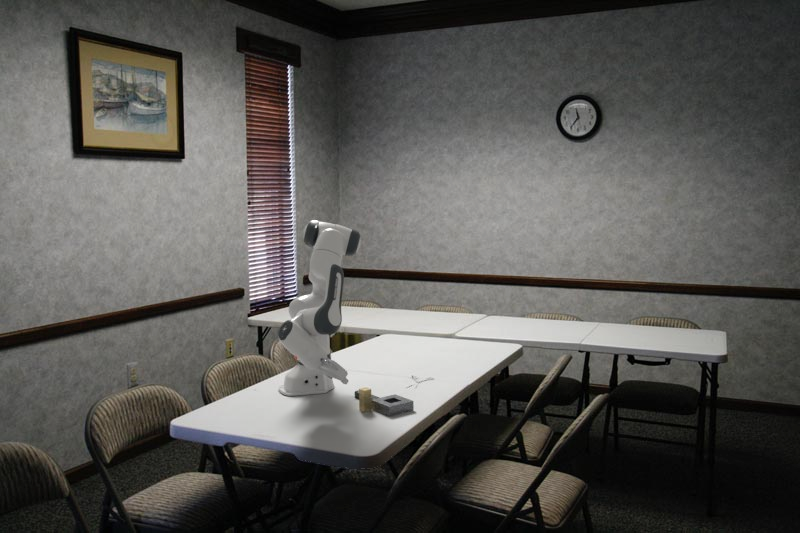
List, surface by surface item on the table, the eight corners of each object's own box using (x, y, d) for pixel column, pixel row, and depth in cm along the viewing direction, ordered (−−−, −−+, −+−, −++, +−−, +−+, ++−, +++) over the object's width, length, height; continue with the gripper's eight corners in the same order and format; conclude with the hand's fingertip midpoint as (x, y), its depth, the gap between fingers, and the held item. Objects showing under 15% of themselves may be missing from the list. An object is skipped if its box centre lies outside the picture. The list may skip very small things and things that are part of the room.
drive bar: (364, 412, 251) (363, 390, 251) (359, 410, 254) (359, 388, 253) (371, 410, 253) (371, 389, 252) (366, 408, 256) (366, 387, 255)
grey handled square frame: (389, 416, 246) (389, 406, 246) (344, 398, 269) (344, 389, 269) (413, 410, 253) (413, 400, 252) (368, 393, 276) (368, 384, 275)
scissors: (435, 376, 298) (422, 388, 279) (435, 378, 299) (422, 390, 280) (411, 375, 302) (397, 386, 283) (411, 376, 302) (397, 388, 283)
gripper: (336, 354, 232) (360, 378, 238) (305, 344, 248) (329, 367, 255) (324, 369, 229) (350, 393, 236) (294, 358, 245) (319, 381, 252)
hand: (339, 379), depth 246 cm, fingers open, 8 cm apart
